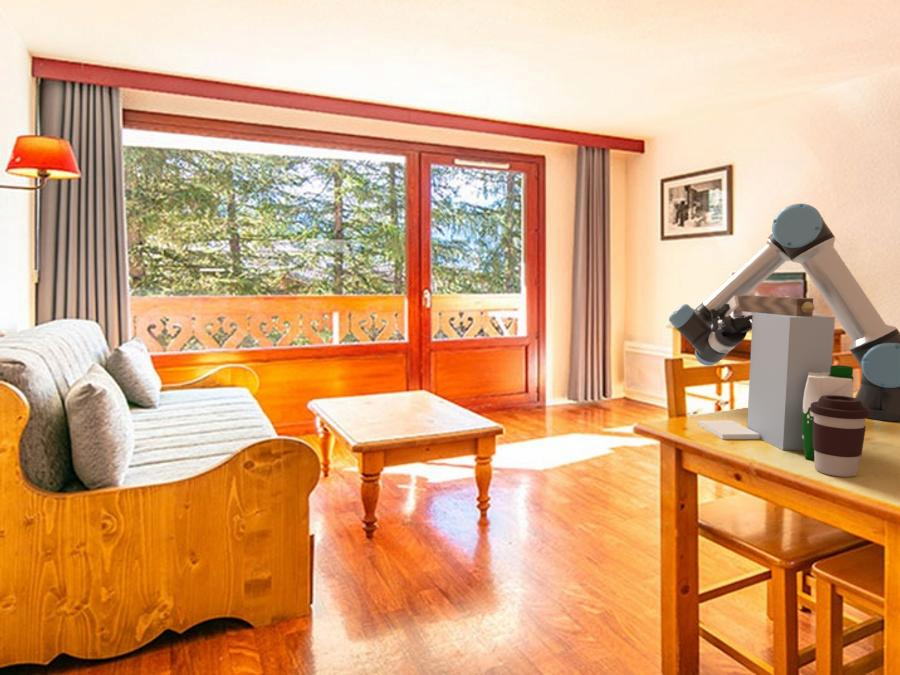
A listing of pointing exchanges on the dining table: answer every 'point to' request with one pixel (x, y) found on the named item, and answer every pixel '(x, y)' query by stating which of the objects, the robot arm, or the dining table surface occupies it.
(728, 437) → the plate
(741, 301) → the pepper mill
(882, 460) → the dining table surface
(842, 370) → the milk carton
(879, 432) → the dining table surface
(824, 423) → the coffee cup
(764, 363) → the stand
